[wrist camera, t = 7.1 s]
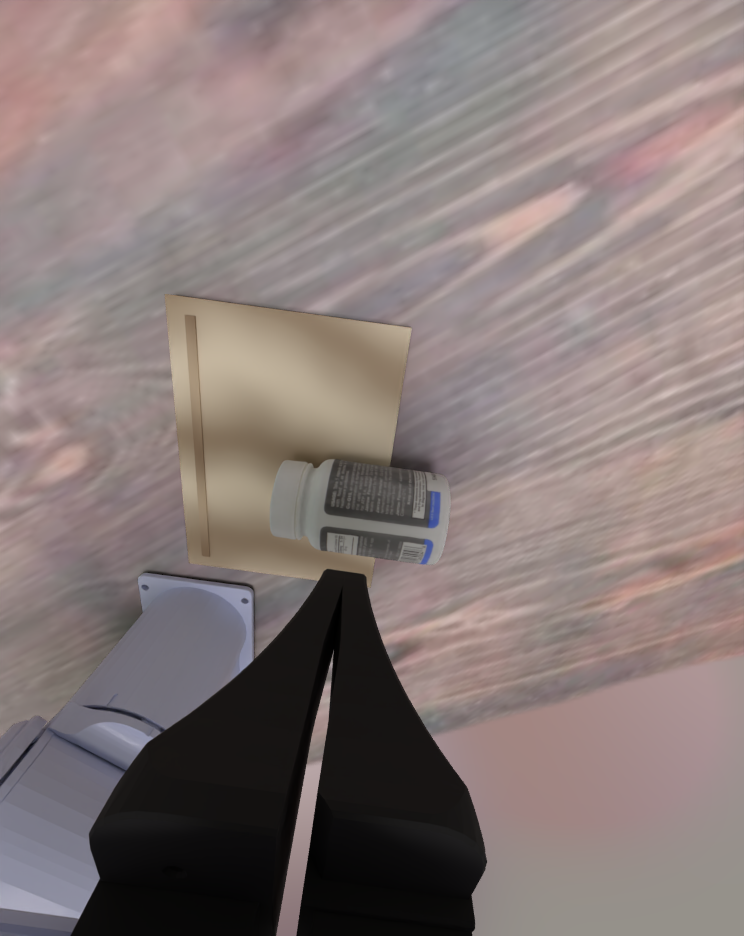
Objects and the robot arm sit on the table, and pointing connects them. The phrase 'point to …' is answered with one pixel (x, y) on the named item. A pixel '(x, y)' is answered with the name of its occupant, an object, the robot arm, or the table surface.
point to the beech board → (274, 420)
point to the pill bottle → (362, 509)
